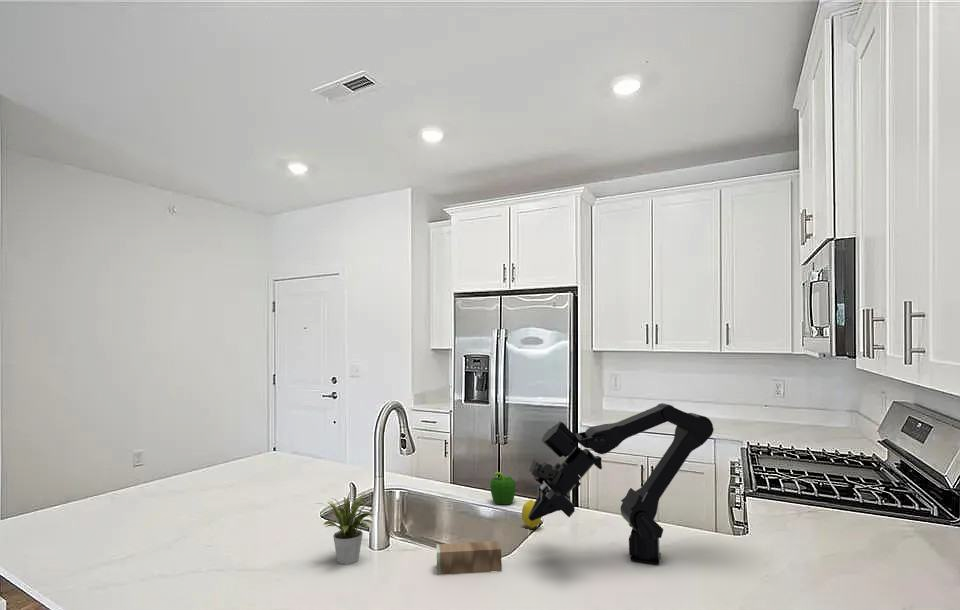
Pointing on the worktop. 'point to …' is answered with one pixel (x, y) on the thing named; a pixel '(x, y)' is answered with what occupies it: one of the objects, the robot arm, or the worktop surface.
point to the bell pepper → (503, 489)
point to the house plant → (348, 530)
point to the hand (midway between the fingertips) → (529, 519)
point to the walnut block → (468, 557)
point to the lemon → (526, 512)
